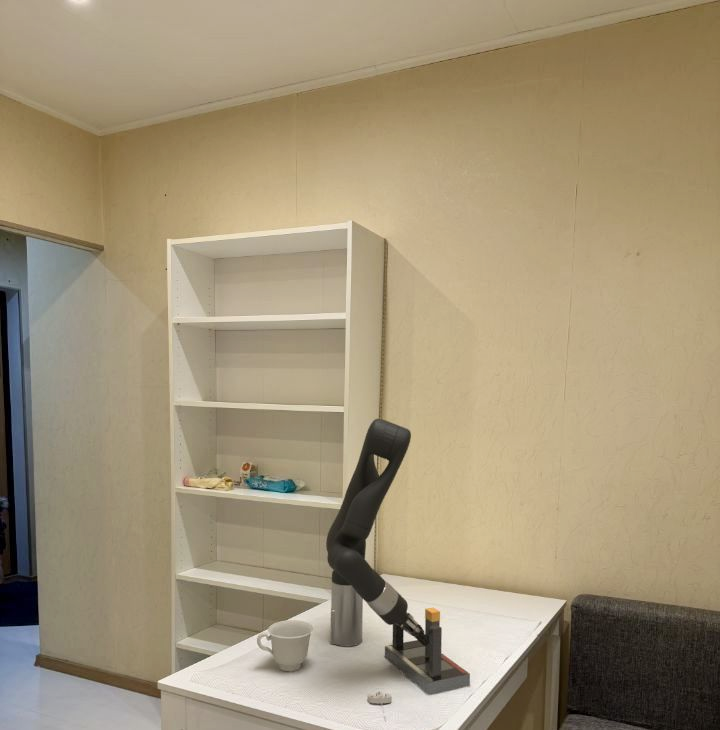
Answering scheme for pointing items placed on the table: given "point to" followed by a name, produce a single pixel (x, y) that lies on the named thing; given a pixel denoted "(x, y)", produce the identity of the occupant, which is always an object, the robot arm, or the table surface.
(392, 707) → the table surface
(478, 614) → the table surface
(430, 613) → the lever
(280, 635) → the teacup
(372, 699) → the game controller
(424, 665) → the pillared base stand
